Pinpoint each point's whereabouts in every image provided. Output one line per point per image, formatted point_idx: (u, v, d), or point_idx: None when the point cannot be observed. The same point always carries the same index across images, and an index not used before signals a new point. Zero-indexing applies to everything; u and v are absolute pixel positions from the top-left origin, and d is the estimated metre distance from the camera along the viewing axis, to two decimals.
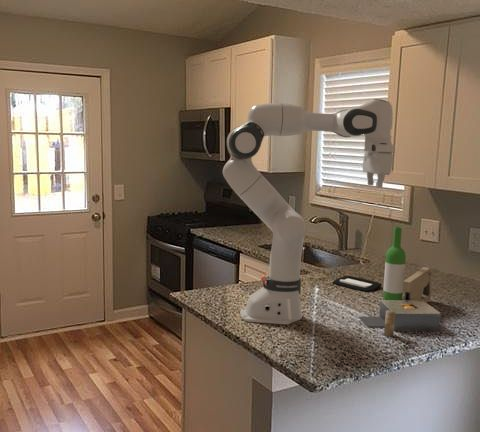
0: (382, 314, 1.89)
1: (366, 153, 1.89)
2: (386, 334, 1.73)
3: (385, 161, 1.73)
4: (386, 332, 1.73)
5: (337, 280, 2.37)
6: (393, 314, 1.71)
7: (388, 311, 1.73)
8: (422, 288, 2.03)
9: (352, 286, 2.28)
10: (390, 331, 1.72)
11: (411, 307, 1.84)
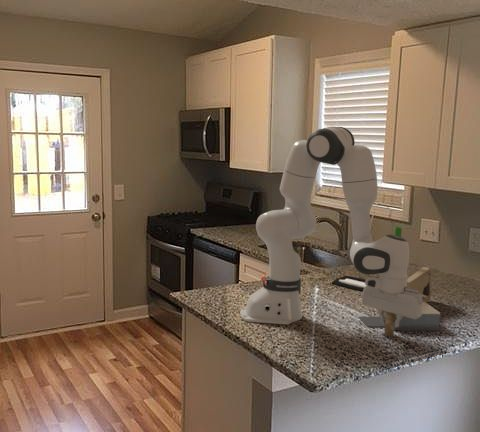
0: None
1: None
2: (386, 334, 1.73)
3: None
4: (386, 332, 1.73)
5: (336, 280, 2.36)
6: (393, 314, 1.71)
7: None
8: (422, 288, 2.03)
9: (351, 286, 2.28)
10: (390, 331, 1.72)
11: None
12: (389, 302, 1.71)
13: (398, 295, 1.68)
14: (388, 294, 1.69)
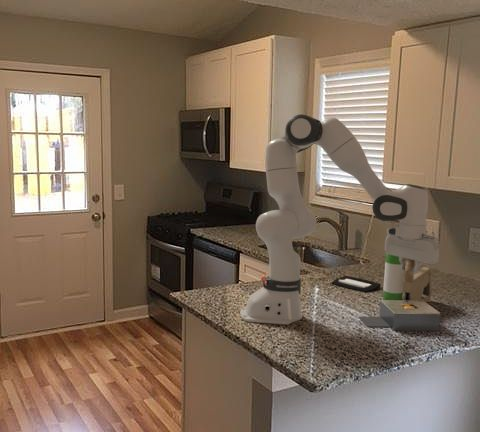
0: (382, 314, 1.89)
1: None
2: (406, 280, 1.79)
3: None
4: (406, 278, 1.79)
5: (336, 280, 2.36)
6: (412, 261, 1.78)
7: None
8: (422, 288, 2.03)
9: (351, 286, 2.28)
10: (409, 277, 1.79)
11: (411, 307, 1.84)
12: (408, 249, 1.78)
13: (416, 241, 1.75)
14: (406, 240, 1.76)
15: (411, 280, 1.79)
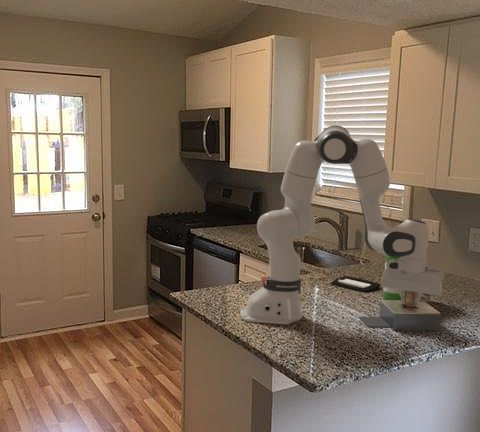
0: (382, 314, 1.89)
1: None
2: None
3: None
4: None
5: (336, 280, 2.36)
6: (414, 293, 1.83)
7: None
8: None
9: (351, 286, 2.28)
10: None
11: None
12: (411, 282, 1.81)
13: (421, 274, 1.80)
14: (411, 274, 1.80)
15: None
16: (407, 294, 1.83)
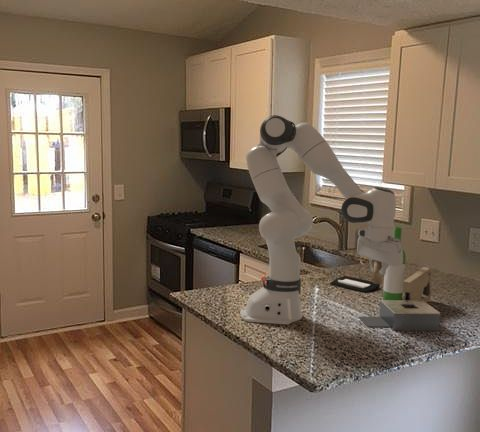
0: (382, 314, 1.89)
1: None
2: (373, 281, 1.83)
3: None
4: (373, 279, 1.83)
5: (335, 281, 2.35)
6: (380, 262, 1.81)
7: None
8: (422, 288, 2.03)
9: (350, 287, 2.27)
10: (377, 278, 1.82)
11: None
12: (376, 251, 1.81)
13: (382, 243, 1.78)
14: (373, 242, 1.80)
15: (378, 281, 1.82)
16: (374, 263, 1.83)
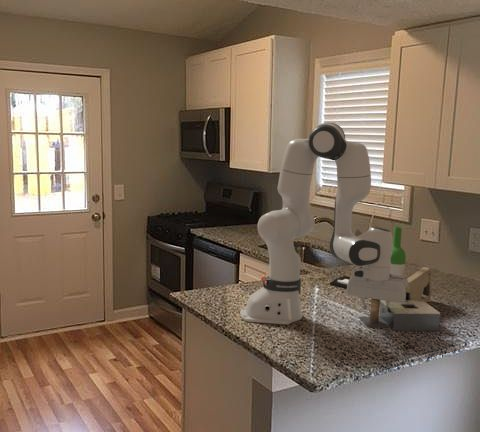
0: (382, 314, 1.89)
1: None
2: (373, 321, 1.84)
3: None
4: (373, 319, 1.84)
5: (335, 281, 2.35)
6: (379, 301, 1.83)
7: (373, 299, 1.84)
8: (422, 288, 2.03)
9: None
10: (377, 317, 1.84)
11: None
12: (376, 289, 1.82)
13: (385, 282, 1.80)
14: (376, 282, 1.80)
15: (378, 320, 1.84)
16: (372, 303, 1.83)
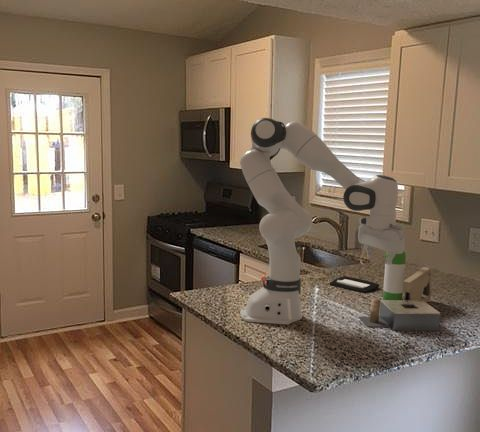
0: (382, 314, 1.89)
1: None
2: (373, 321, 1.84)
3: None
4: (373, 319, 1.84)
5: (334, 281, 2.35)
6: (379, 301, 1.83)
7: (374, 299, 1.84)
8: (422, 288, 2.03)
9: (350, 287, 2.27)
10: (377, 318, 1.84)
11: None
12: (377, 238, 1.81)
13: (384, 231, 1.78)
14: (375, 230, 1.80)
15: (378, 320, 1.84)
16: (372, 303, 1.83)
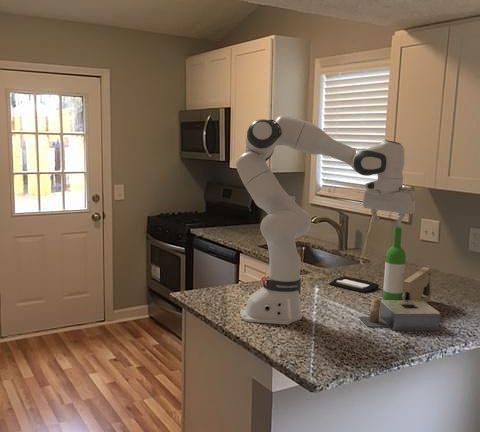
0: (382, 314, 1.89)
1: None
2: (373, 321, 1.84)
3: None
4: (373, 319, 1.84)
5: (334, 281, 2.35)
6: (379, 301, 1.83)
7: (374, 299, 1.84)
8: (422, 288, 2.03)
9: (349, 287, 2.27)
10: (377, 318, 1.84)
11: None
12: (386, 201, 1.89)
13: (394, 194, 1.87)
14: (385, 193, 1.88)
15: (378, 320, 1.84)
16: (373, 303, 1.83)
